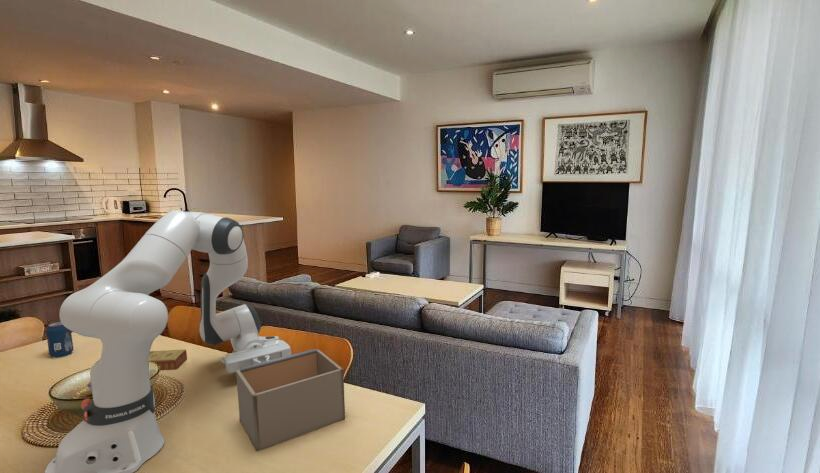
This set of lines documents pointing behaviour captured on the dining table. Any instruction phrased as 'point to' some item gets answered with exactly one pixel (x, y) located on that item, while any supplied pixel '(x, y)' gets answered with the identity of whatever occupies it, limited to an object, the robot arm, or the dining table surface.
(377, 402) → the dining table surface
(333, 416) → the open carton
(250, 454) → the dining table surface
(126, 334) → the robot arm
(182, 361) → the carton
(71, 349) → the blue can
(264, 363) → the flap
